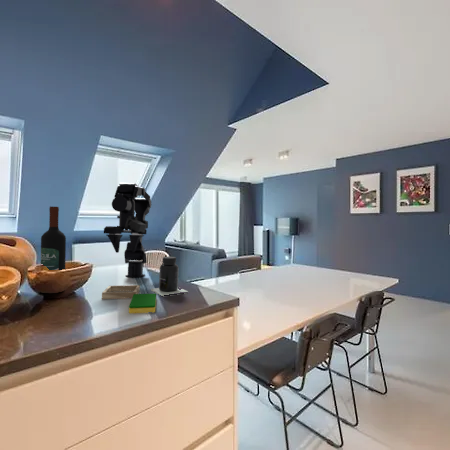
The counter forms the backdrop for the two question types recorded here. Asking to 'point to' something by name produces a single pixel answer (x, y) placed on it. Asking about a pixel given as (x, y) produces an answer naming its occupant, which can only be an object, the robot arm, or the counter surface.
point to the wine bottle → (53, 244)
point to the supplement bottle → (168, 275)
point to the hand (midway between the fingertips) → (125, 252)
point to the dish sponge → (142, 303)
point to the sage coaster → (167, 292)
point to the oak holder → (115, 293)
